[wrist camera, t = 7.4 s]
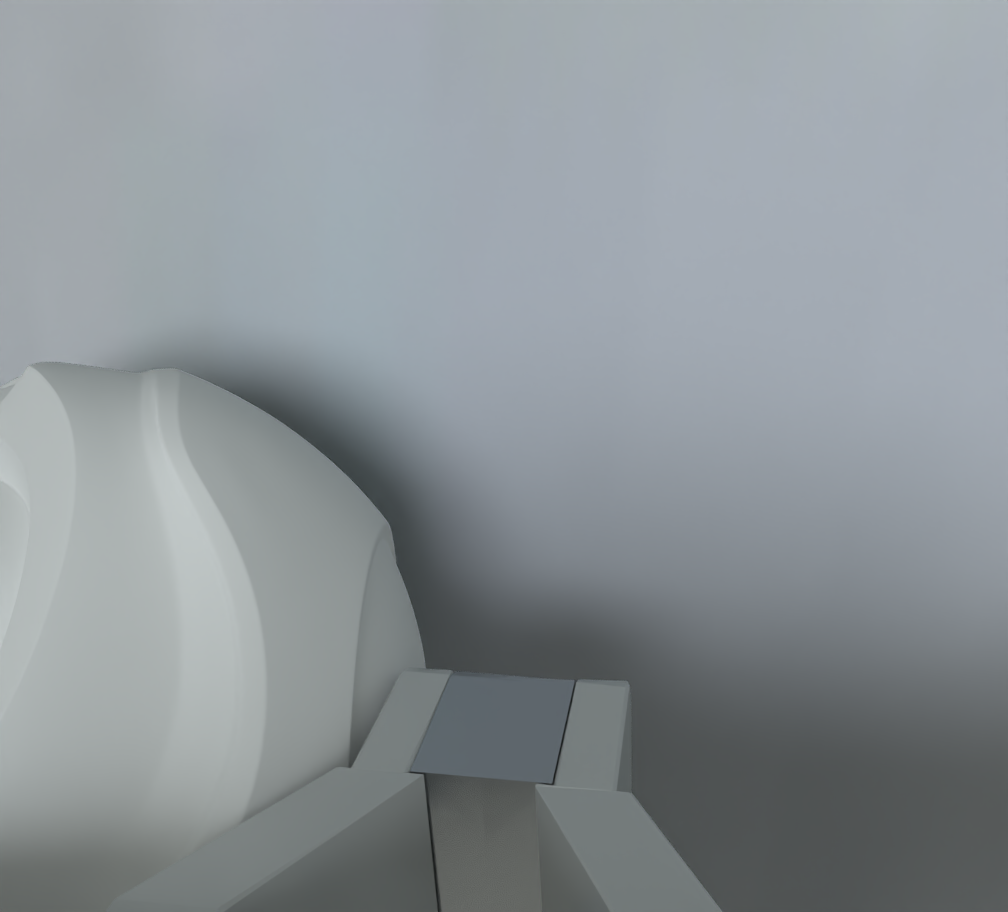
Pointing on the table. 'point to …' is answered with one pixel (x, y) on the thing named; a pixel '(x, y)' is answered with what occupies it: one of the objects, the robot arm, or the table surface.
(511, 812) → the robot arm
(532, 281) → the table surface
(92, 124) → the table surface
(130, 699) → the white swirled ball
